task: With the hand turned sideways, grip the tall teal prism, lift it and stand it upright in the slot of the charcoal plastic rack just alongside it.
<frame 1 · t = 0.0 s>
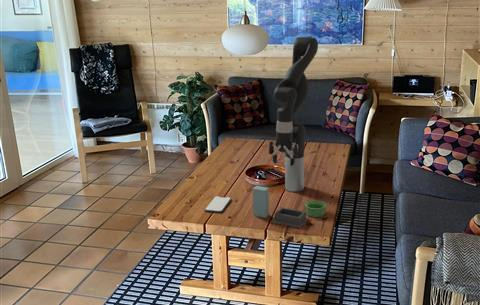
hand: (283, 164, 243), 17 cm above the table, tool pointing down, fingers open, 8 cm apart
phone case: (218, 206, 243), on the table
ramekin: (315, 213, 231), on the table
tall teal prism: (261, 215, 231), on the table
rack: (290, 221, 225), on the table
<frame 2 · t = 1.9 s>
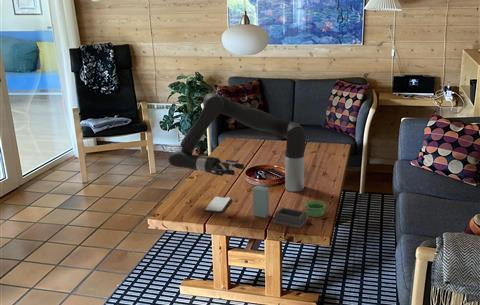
hand: (239, 169, 231), 20 cm above the table, tool horizontal, fingers open, 8 cm apart
nothing on the table moved.
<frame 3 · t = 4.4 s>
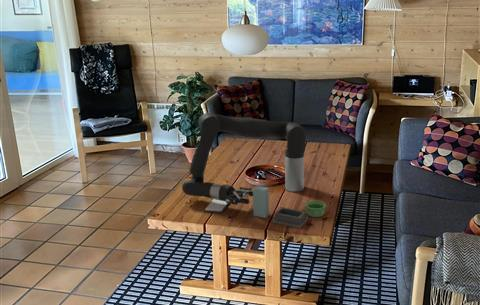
hand: (253, 198, 231), 7 cm above the table, tool horizontal, fingers open, 8 cm apart
nothing on the table moved.
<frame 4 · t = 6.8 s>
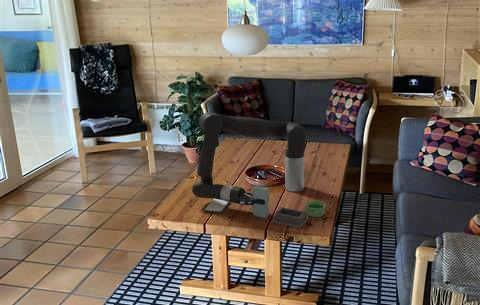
hand: (266, 200, 227), 8 cm above the table, tool horizontal, fingers closed on tall teal prism, 3 cm apart
tall teal prism: (261, 215, 231), on the table, touching gripper
everything else where it was.
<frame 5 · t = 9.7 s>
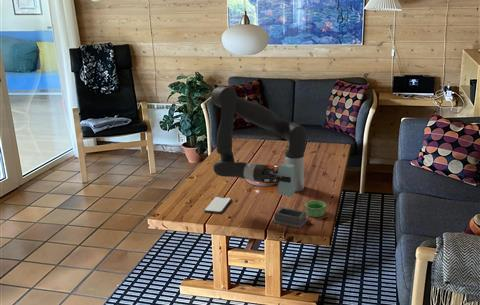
hand: (292, 178, 218), 20 cm above the table, tool horizontal, fingers closed on tall teal prism, 3 cm apart
tall teal prism: (286, 194, 221), point 12 cm above the table, touching gripper
everything else where it was.
when the fingers open (10 cm above the table, at t = 12.9 s): tall teal prism drops 2 cm, resting on rack.
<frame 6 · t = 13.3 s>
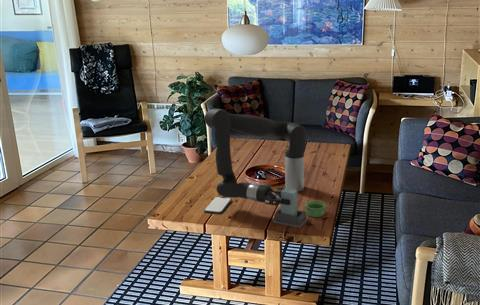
hand: (293, 199, 220), 11 cm above the table, tool horizontal, fingers open, 7 cm apart
tall teal prism: (289, 218, 224), point 1 cm above the table, touching rack
everything else where it was.
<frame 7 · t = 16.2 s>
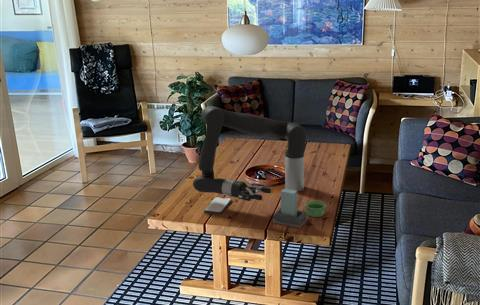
hand: (266, 194, 226), 11 cm above the table, tool horizontal, fingers open, 8 cm apart
nothing on the table moved.
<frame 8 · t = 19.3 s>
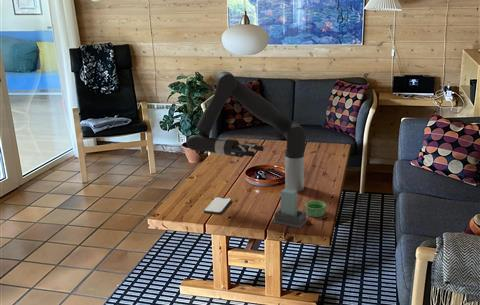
hand: (258, 151, 228), 28 cm above the table, tool horizontal, fingers open, 8 cm apart
at the end: tall teal prism 0.5 cm off-centre on the rack, point 1.0 cm above the rack's base; tall teal prism tilted 0°; the gripper is holding nothing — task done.
